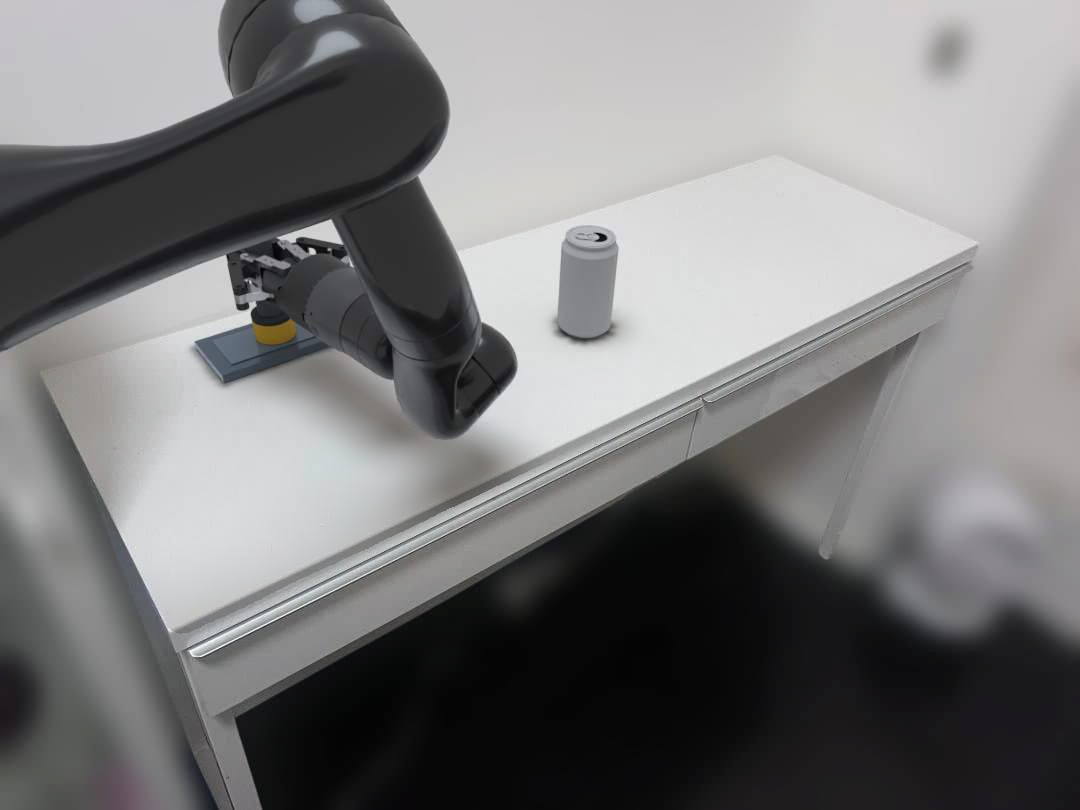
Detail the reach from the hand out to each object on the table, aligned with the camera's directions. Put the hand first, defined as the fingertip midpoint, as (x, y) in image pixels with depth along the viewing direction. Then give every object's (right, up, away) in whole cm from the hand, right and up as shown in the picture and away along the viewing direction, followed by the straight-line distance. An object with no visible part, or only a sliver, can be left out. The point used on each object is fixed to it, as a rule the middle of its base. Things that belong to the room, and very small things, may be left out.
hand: (244, 245), depth 86 cm
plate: (+1, -10, +5) cm, 11 cm away
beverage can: (+37, -8, +11) cm, 39 cm away
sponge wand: (+2, -9, +5) cm, 10 cm away
